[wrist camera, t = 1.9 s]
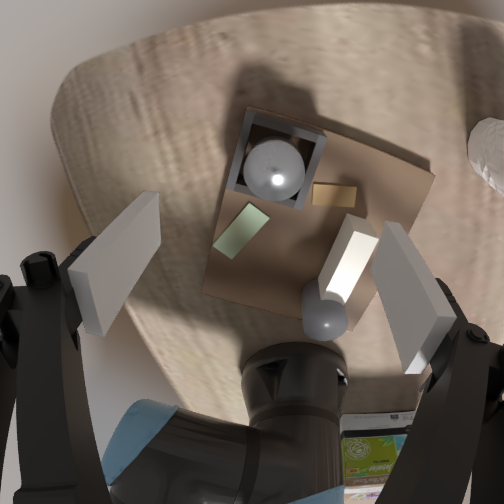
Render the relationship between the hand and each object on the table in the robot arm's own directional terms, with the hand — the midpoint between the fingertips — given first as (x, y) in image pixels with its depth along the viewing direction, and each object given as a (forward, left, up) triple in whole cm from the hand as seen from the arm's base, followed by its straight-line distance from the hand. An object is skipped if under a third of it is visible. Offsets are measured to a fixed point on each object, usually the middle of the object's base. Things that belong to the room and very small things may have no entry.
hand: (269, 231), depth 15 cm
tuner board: (-7, -6, -16) cm, 18 cm away
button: (0, 0, -12) cm, 12 cm away
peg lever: (-9, -9, -14) cm, 19 cm away
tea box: (-40, -32, -16) cm, 54 cm away
